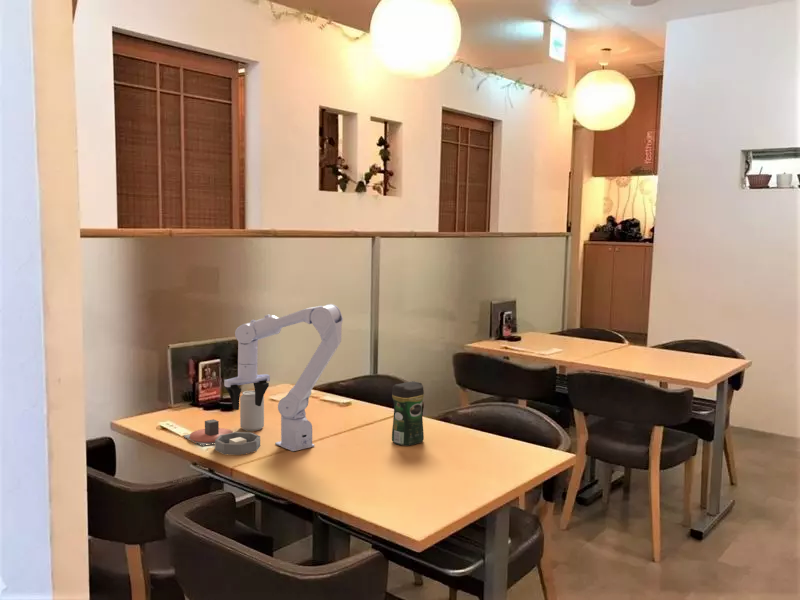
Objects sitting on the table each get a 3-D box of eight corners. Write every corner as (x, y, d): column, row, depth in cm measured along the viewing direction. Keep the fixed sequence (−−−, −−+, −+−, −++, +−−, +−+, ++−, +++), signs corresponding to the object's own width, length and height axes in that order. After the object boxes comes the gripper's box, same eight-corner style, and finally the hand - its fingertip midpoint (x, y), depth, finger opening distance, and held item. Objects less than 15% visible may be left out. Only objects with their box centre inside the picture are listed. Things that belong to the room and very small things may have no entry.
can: (250, 433, 219) (250, 395, 218) (235, 428, 224) (235, 392, 222) (268, 428, 225) (268, 391, 224) (253, 424, 229) (253, 388, 228)
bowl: (266, 448, 204) (266, 438, 203) (230, 457, 195) (230, 447, 195) (245, 439, 212) (245, 429, 212) (209, 447, 204) (209, 437, 204)
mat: (238, 438, 213) (238, 436, 213) (202, 446, 205) (202, 444, 205) (219, 430, 222) (219, 428, 222) (183, 437, 213) (183, 435, 213)
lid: (241, 437, 213) (241, 421, 212) (202, 445, 204) (202, 429, 204) (220, 428, 222) (220, 413, 222) (182, 435, 213) (182, 420, 213)
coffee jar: (410, 436, 219) (411, 378, 217) (427, 442, 213) (428, 382, 211) (386, 442, 212) (387, 382, 210) (404, 448, 206) (405, 386, 205)
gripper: (261, 358, 216) (260, 401, 218) (219, 363, 206) (218, 408, 208) (274, 362, 211) (273, 405, 213) (231, 367, 201) (230, 413, 203)
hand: (247, 407), depth 210 cm, fingers open, 7 cm apart
